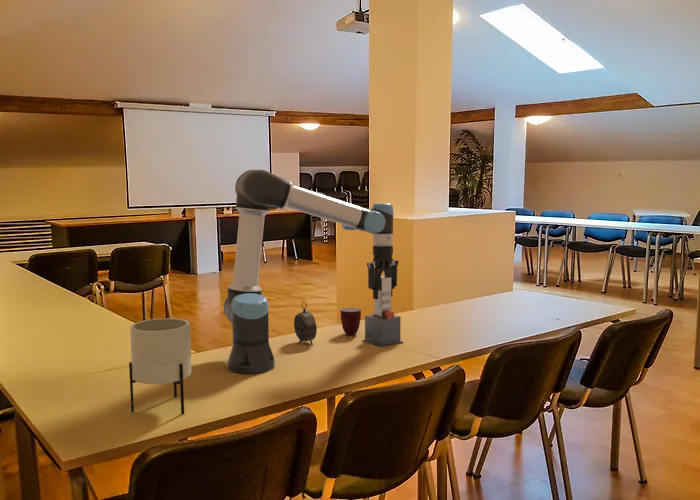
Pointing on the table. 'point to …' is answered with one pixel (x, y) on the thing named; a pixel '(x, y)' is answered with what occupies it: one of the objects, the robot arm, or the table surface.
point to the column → (384, 297)
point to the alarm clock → (305, 326)
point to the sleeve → (382, 330)
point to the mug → (350, 320)
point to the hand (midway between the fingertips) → (382, 306)
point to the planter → (160, 353)
